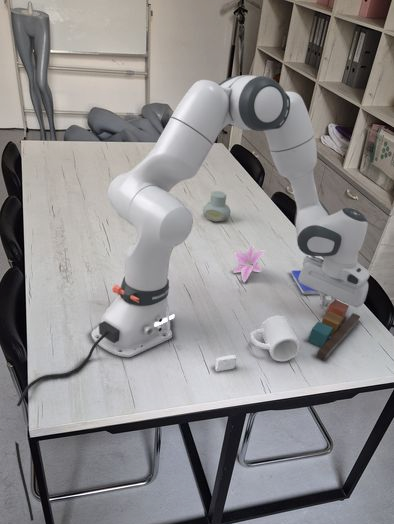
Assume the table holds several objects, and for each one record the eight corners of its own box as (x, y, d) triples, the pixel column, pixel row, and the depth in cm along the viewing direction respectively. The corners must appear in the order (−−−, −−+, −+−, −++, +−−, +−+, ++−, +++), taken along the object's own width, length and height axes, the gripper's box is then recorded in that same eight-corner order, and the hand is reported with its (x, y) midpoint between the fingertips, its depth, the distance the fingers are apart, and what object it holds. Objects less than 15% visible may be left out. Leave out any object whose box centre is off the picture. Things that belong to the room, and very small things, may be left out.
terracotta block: (338, 324, 144) (343, 311, 142) (324, 317, 146) (329, 305, 143) (344, 317, 147) (349, 305, 145) (330, 311, 149) (335, 299, 146)
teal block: (322, 348, 135) (327, 335, 132) (307, 341, 136) (311, 328, 133) (328, 340, 138) (333, 327, 135) (314, 334, 139) (318, 321, 137)
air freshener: (199, 219, 191) (202, 194, 184) (205, 211, 197) (208, 187, 191) (226, 225, 189) (230, 200, 183) (231, 217, 195) (235, 193, 189)
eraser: (234, 368, 124) (236, 357, 122) (216, 371, 123) (218, 360, 120) (232, 365, 125) (234, 354, 123) (214, 368, 124) (216, 357, 121)
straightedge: (324, 361, 130) (326, 354, 129) (316, 357, 131) (318, 350, 130) (358, 322, 146) (360, 316, 145) (350, 319, 147) (353, 312, 146)
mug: (285, 338, 137) (291, 314, 131) (296, 361, 129) (303, 337, 124) (244, 339, 134) (248, 315, 129) (253, 363, 127) (258, 339, 122)
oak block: (333, 337, 139) (337, 324, 136) (319, 330, 141) (323, 317, 138) (339, 329, 142) (343, 317, 139) (325, 323, 144) (329, 311, 141)
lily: (231, 265, 167) (226, 247, 159) (265, 255, 166) (261, 236, 158) (238, 292, 161) (233, 275, 153) (273, 282, 160) (269, 264, 151)
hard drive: (328, 290, 156) (314, 270, 165) (304, 290, 154) (291, 270, 164) (326, 294, 157) (313, 274, 166) (302, 294, 155) (290, 274, 165)
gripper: (300, 256, 140) (290, 296, 149) (367, 283, 132) (352, 324, 141) (310, 249, 145) (299, 288, 153) (375, 275, 136) (360, 315, 145)
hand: (325, 306), depth 147 cm, fingers closed
